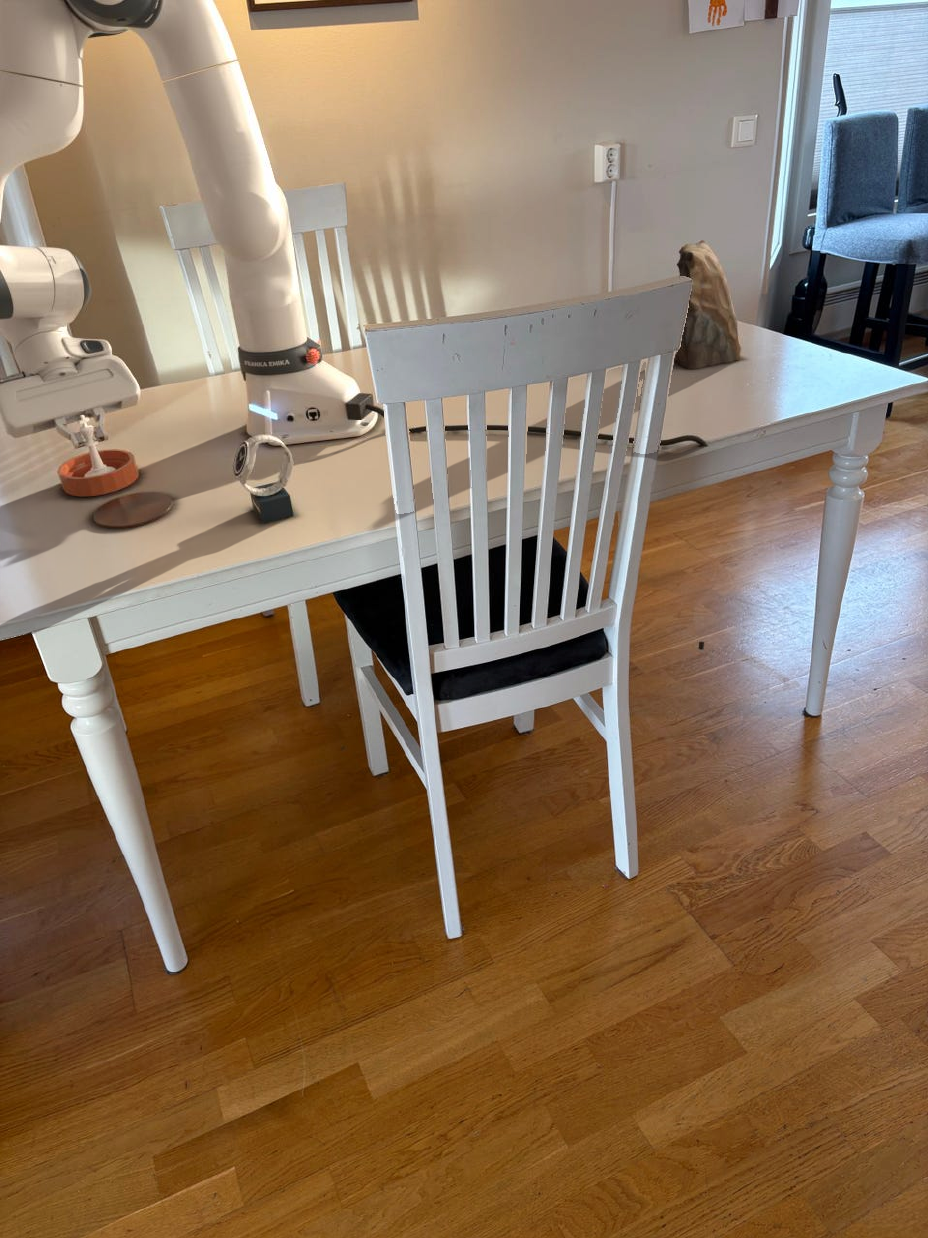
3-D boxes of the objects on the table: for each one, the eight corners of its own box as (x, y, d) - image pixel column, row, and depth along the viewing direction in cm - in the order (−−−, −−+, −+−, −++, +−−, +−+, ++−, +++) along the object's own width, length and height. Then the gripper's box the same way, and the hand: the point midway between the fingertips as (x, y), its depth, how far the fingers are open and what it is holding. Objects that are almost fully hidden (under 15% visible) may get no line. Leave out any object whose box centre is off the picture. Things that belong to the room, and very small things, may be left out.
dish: (149, 466, 144) (144, 447, 142) (123, 496, 134) (117, 476, 132) (81, 469, 144) (75, 450, 143) (51, 499, 135) (44, 480, 133)
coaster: (182, 493, 134) (181, 490, 134) (158, 527, 125) (157, 524, 124) (111, 496, 135) (110, 493, 134) (81, 530, 126) (80, 527, 125)
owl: (686, 371, 165) (693, 256, 154) (649, 354, 175) (654, 245, 164) (743, 359, 168) (755, 246, 157) (704, 343, 178) (712, 235, 167)
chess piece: (124, 473, 139) (106, 411, 134) (99, 486, 136) (78, 423, 131) (104, 468, 142) (85, 407, 136) (78, 480, 138) (57, 418, 133)
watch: (239, 512, 127) (223, 438, 121) (294, 498, 130) (281, 425, 124) (249, 527, 123) (232, 451, 117) (306, 512, 125) (292, 438, 119)
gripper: (-22, 370, 129) (19, 452, 128) (117, 337, 139) (157, 413, 137) (-18, 393, 135) (22, 472, 133) (116, 360, 144) (154, 433, 143)
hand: (91, 442), depth 135 cm, fingers closed on chess piece
